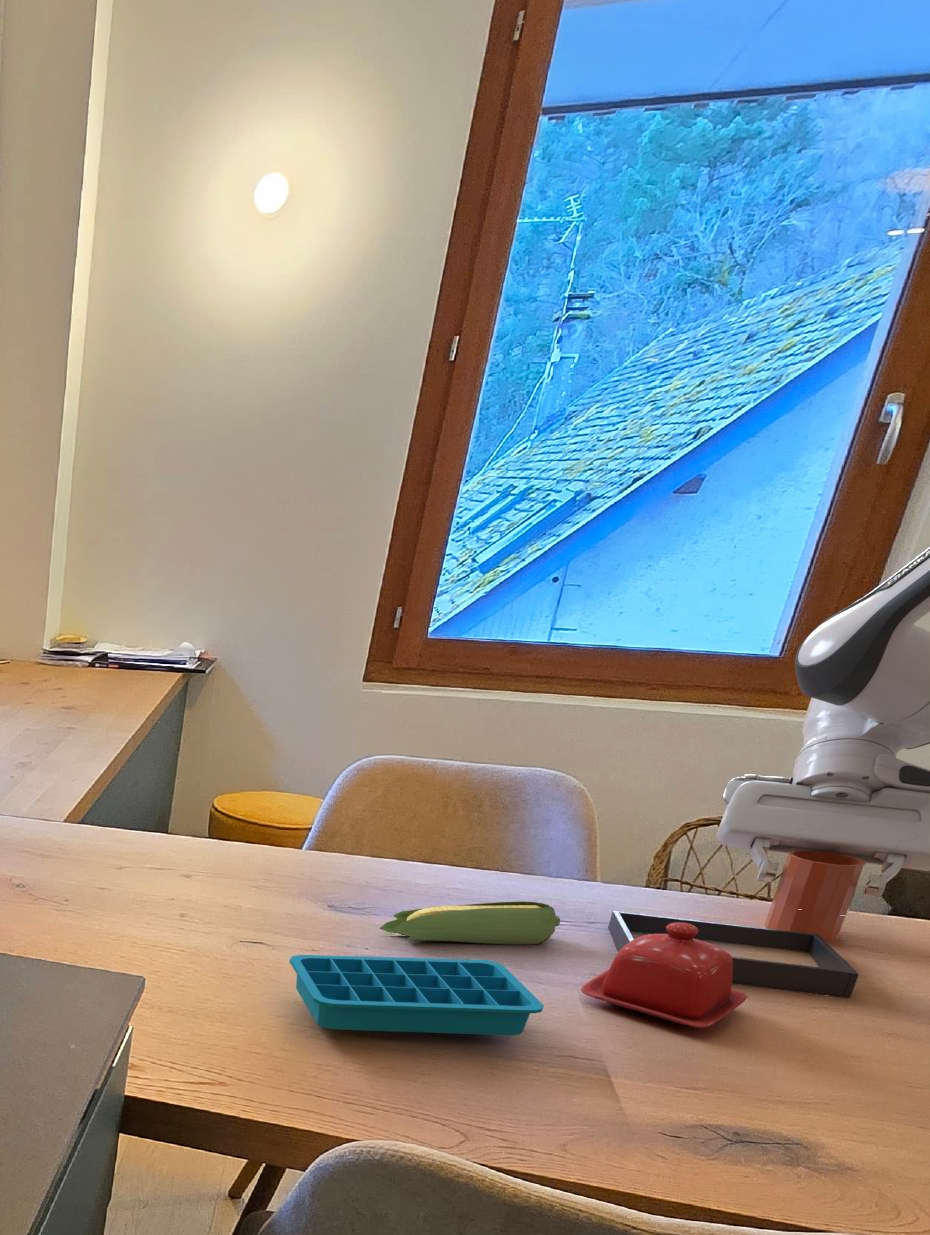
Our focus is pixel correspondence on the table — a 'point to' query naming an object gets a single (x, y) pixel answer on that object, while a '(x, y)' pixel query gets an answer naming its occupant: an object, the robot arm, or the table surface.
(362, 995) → the ice cube tray
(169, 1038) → the table surface
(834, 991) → the tray
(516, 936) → the edible corn
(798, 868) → the cup
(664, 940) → the butter dish
